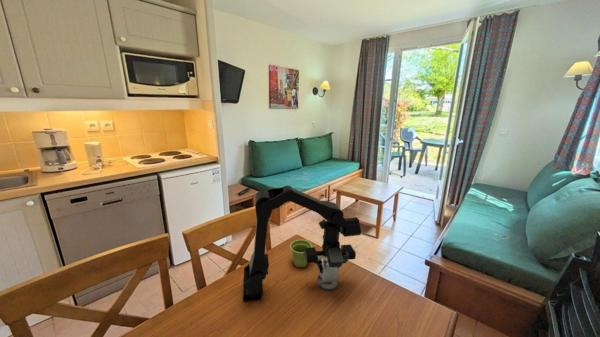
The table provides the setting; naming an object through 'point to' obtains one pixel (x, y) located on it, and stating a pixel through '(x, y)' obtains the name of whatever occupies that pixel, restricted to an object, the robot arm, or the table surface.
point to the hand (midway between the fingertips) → (328, 271)
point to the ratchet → (327, 284)
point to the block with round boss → (328, 271)
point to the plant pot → (299, 252)
